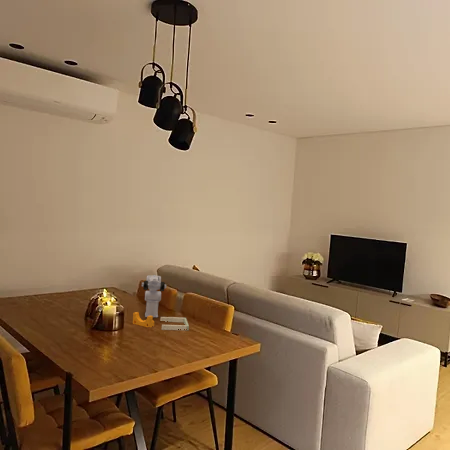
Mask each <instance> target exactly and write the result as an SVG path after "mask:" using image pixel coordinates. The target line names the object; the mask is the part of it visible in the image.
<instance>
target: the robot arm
mask: <svg viewBox="0 0 450 450" xmlns="http://www.w3.org/2000/svg"><path fill="white" fill-rule="evenodd" d="M141 287H143V288H142V289H143V290H144V301H146V304H145V306H146V307H145V312H144V318H147V316H150V315H151V316H153V318H159V315H158V314H159V313H158V311H159V302H160V301H161V300H162V292H164V291H165V289H167V284H166V283H165V281H162V276H161V275H156V274H153V275H150V274H149V275H146V279H145V280H144V281H143V282H141ZM158 290H159V291H158Z"/></svg>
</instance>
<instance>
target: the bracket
mask: <svg viewBox="0 0 450 450" xmlns="http://www.w3.org/2000/svg"><path fill="white" fill-rule="evenodd" d="M160 321H165V322H164V323H183V324H185V325H181V324H180V325H179V324H161V330H162V331H190V326H189V323H188V319H187V317H174V316H168V317H167V316H160ZM160 321H159V322H160ZM167 321H168V322H167ZM178 329H179V330H178ZM180 329H181V330H180ZM184 329H185V330H184ZM186 329H187V330H186Z"/></svg>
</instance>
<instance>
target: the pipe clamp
mask: <svg viewBox="0 0 450 450" xmlns="http://www.w3.org/2000/svg"><path fill="white" fill-rule="evenodd" d="M132 315H133V316H132V324H133V325H137V326H139V327H144V328H148V327H150V328H153V327H155V320H153V318H154V317H153V316H151V315H150V316H147V317H146V319H144V320H143V319H142V318H141V317H140V312H139V311H136V312H133V313H132ZM152 326H153V327H152Z"/></svg>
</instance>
